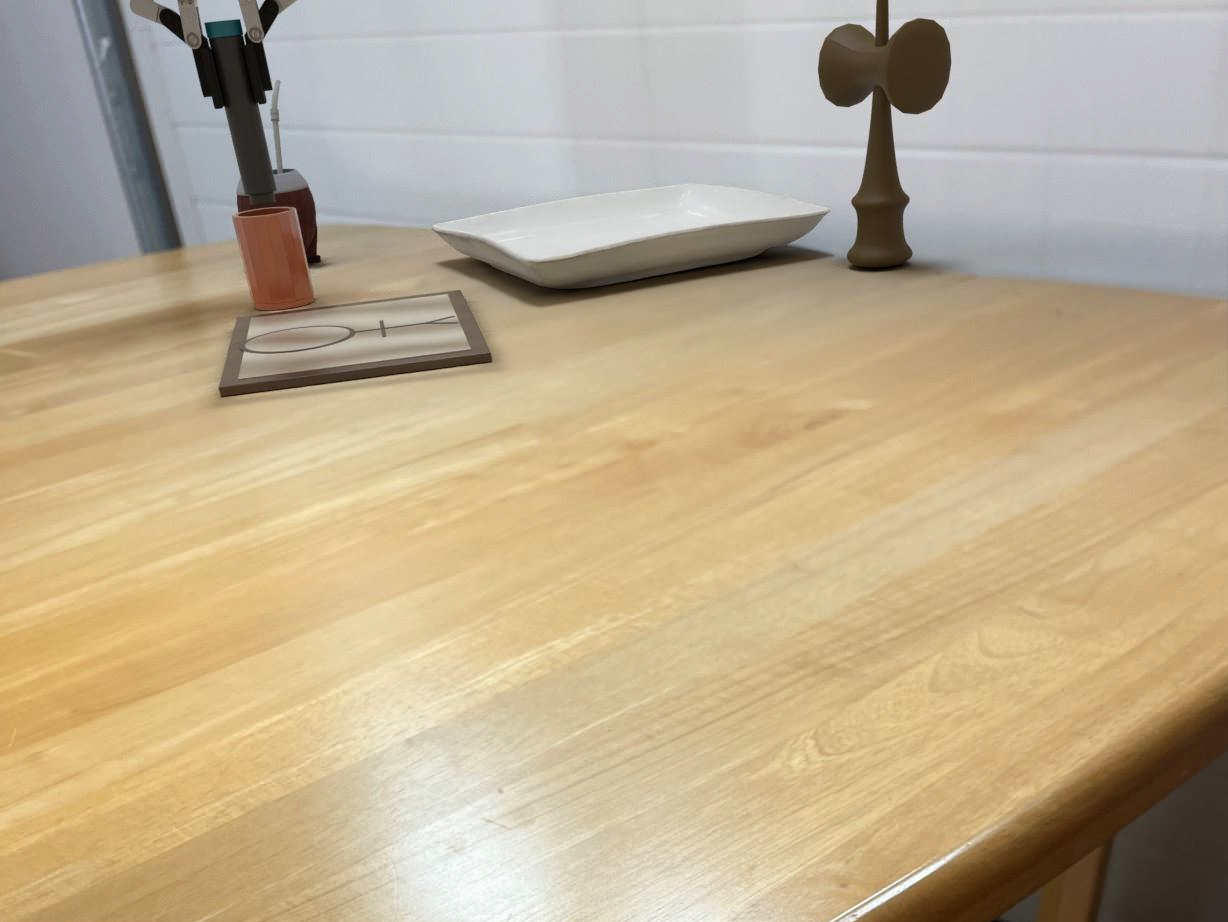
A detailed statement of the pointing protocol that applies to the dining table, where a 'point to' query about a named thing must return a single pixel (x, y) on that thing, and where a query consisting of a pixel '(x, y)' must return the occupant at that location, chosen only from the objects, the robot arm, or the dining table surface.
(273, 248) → the pen cup
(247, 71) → the marker
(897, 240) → the kendama
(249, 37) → the robot arm
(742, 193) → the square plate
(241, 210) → the mate gourd
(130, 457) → the dining table surface
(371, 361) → the framed picture
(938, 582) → the dining table surface
